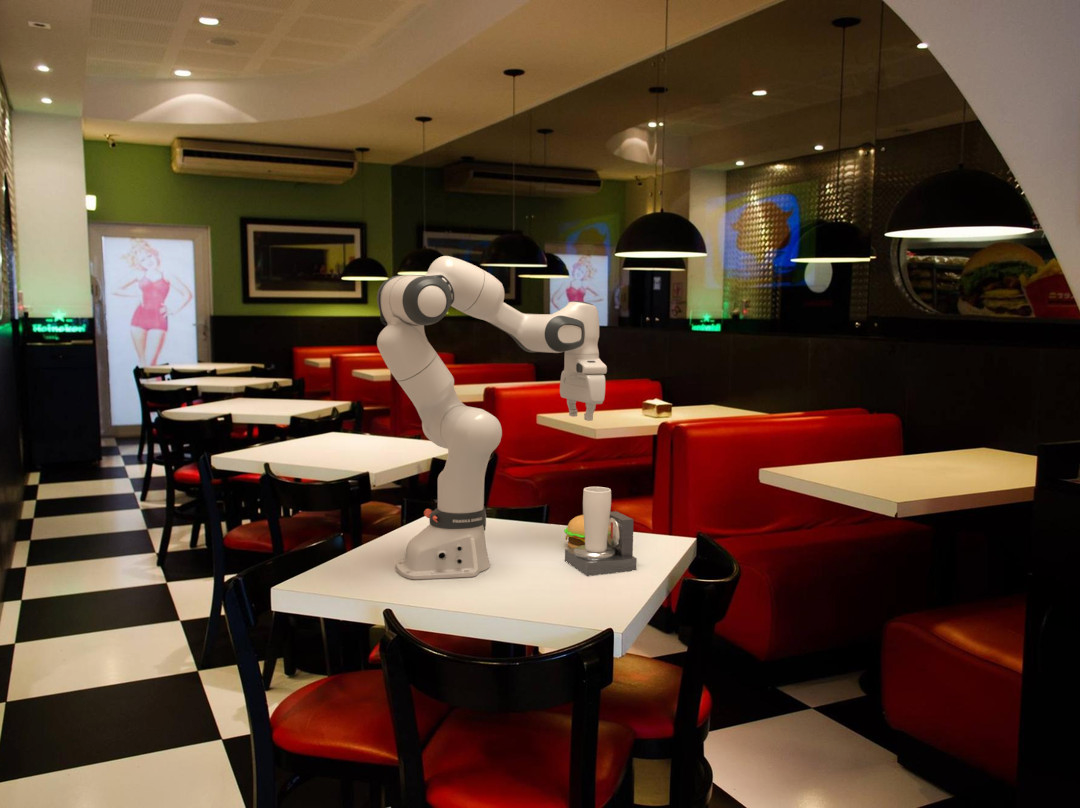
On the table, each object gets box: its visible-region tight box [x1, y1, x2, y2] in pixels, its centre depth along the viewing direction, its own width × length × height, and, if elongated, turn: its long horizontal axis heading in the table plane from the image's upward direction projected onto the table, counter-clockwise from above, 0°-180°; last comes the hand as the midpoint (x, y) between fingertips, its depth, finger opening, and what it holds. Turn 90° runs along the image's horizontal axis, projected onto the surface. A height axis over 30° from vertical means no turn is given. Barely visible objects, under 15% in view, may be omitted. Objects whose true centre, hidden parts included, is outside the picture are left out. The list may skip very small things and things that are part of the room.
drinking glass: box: [582, 486, 612, 552], centre depth 204 cm, size 7×7×15 cm
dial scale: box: [564, 510, 637, 577], centre depth 205 cm, size 13×13×12 cm
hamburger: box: [563, 514, 585, 549], centre depth 222 cm, size 12×12×9 cm
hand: (580, 418), depth 219 cm, fingers open, 8 cm apart
